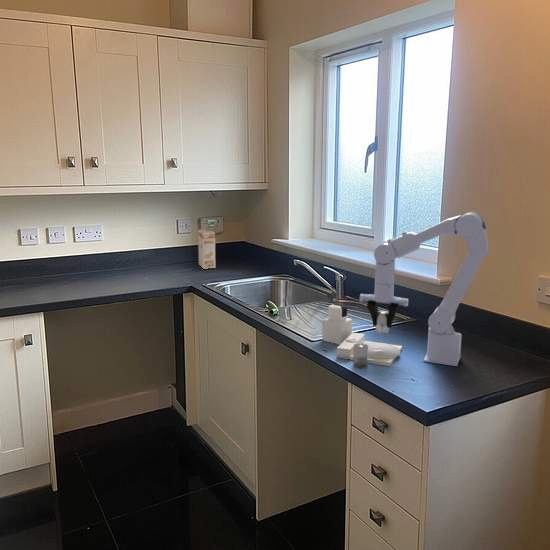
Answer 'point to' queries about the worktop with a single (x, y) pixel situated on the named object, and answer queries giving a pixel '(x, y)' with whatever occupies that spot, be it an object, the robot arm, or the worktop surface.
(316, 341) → the worktop surface
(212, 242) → the coffeecake box
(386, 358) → the scale
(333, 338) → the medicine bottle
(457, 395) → the worktop surface
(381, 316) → the cylinder
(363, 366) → the cylinder
